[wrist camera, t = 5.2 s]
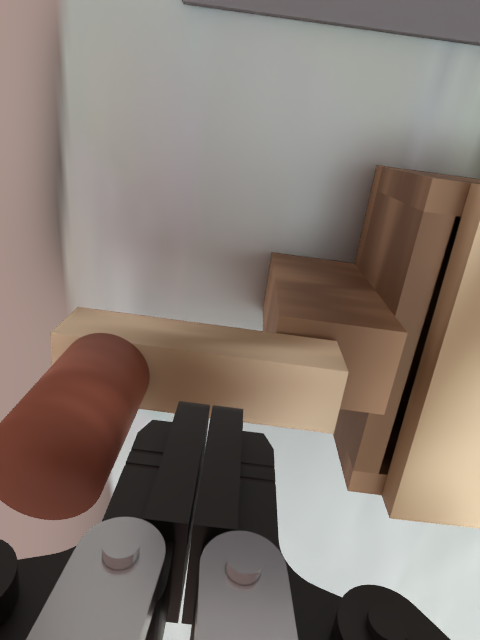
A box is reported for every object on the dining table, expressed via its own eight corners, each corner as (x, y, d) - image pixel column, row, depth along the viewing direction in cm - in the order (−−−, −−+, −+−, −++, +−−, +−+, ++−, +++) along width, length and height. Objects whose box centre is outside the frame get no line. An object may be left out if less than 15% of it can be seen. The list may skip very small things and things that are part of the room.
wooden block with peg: (338, 335, 14) (390, 464, 8) (322, 402, 15) (361, 559, 9) (78, 300, 14) (-43, 409, 8) (78, 370, 15) (-30, 510, 9)
